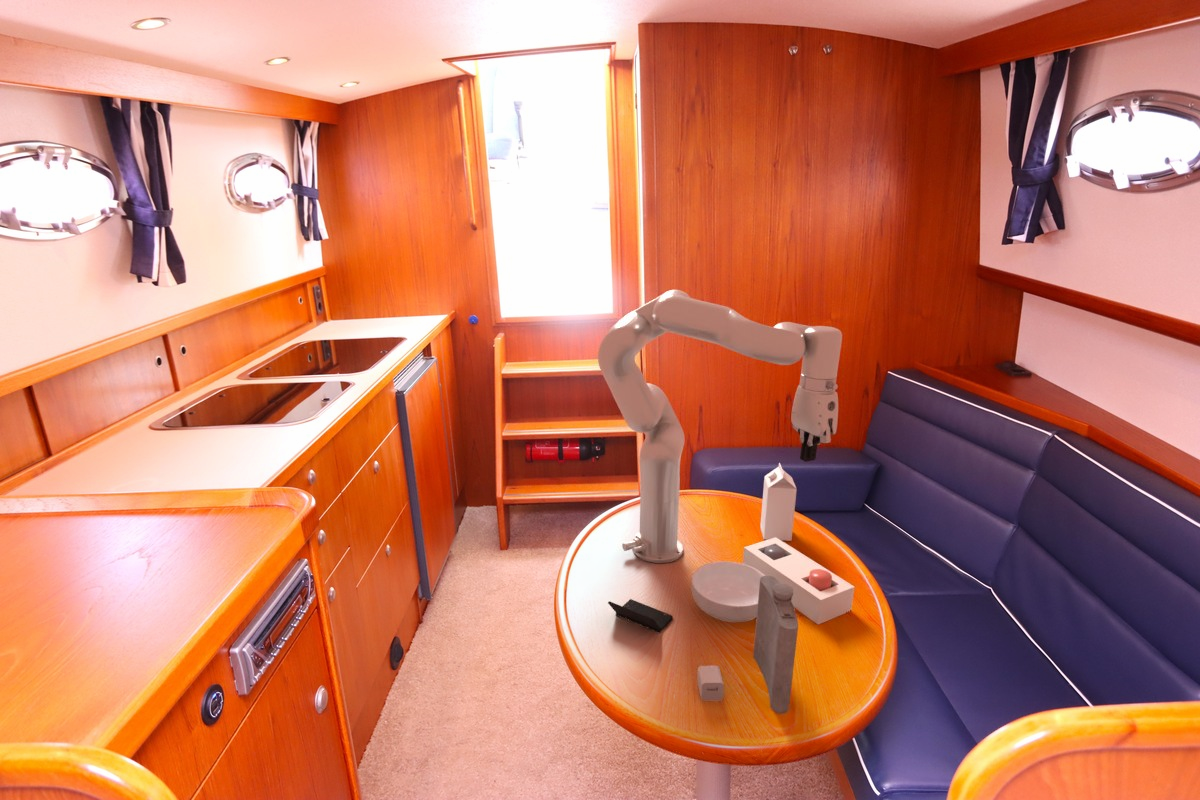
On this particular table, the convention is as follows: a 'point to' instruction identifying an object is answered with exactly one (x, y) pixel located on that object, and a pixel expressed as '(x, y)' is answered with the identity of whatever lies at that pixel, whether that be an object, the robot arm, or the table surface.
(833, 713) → the table surface
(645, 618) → the handheld gaming console
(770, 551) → the grey rounded cylinder
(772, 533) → the milk carton
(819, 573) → the red plunger
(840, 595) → the box
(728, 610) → the cereal bowl
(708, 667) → the usb wall charger
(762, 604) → the hip flask
